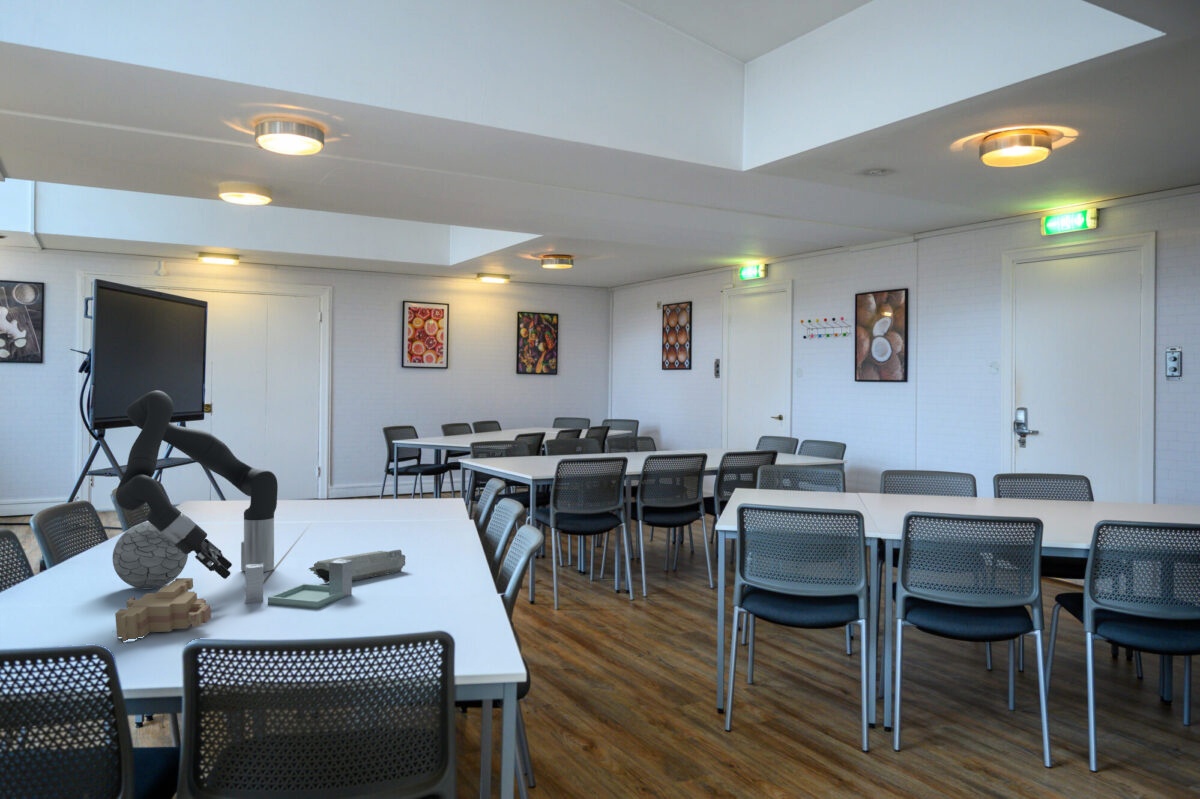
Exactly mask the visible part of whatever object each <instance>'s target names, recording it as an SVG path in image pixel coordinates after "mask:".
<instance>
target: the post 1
mask: <svg viewBox="0 0 1200 799" xmlns="http://www.w3.org/2000/svg"><path fill="white" fill-rule="evenodd" d="M244 573H245V574H244V575H245V577H244V578H245V586H244V588H245V589H244V590H245V599H244V600H245V604H257V603H259V604H260V603H264V572H263V564H250V565H246V568H245V572H244Z"/></svg>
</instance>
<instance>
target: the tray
mask: <svg viewBox="0 0 1200 799" xmlns="http://www.w3.org/2000/svg"><path fill="white" fill-rule="evenodd" d="M341 599H343V591H339V592H336V593H334V594H332V595H329V585H324V584H313V583H301V584H299V585H296V586H294V587H291V588H289V589H286V590H283V591H281V592H278V593H276V594H273V595H270V596H268V597H267V605H273V606H283V607H293V608H302V609H315V610H319V609H320V608H323V607H325V605H326V606H328V605H331V604H332V603H334V602H337V601H340V600H341Z"/></svg>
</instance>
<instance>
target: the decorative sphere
mask: <svg viewBox="0 0 1200 799" xmlns="http://www.w3.org/2000/svg"><path fill="white" fill-rule="evenodd" d="M188 557H189V554H184V553H183V552H182V551H181V550H180V549H179V548H177V547H176V546H175V545H174V544H173V543H172V542H170V541H169V540H168V539H167V538H166V537H165V536H164V535H163V534H162V533H161V532H160V531H159V530H158V529H157V528H156V527H154V526H153V525H152V524H151V523H150V522H149V521H145V522H141V523H138V524H136V525H133V526H131V527H130V528H128V529H127V530H126V531H124V533H123V534H122V535H121V536H120V537H119V538H118V540H117V541H116V543H115V546H114V548H113V551H112V565H113V569H114V571H115V573H116V575H117V576H118V577H119V578H120V580H122V581H123V582H124V583H126V584H127V585H128V586H130V587H134V588H136V589H141V588H153V589H157V588H156V587H158V588H162V587H163V586H167V585H169V584H170V583H172V582H173V581H175V579H176V578H178V576H179V575H181V573H182V572H183V571H184V568H185V567H186V564H187V563H188Z"/></svg>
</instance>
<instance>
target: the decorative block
mask: <svg viewBox="0 0 1200 799" xmlns="http://www.w3.org/2000/svg"><path fill="white" fill-rule="evenodd" d="M406 557H407V556H406V555H405V554H403V553H402V550H401V549H395V550H390V551H386V550H385V551H384V550H377V551H371V552H365V553H364V552H363V553H360V554H353V555H347V556H340V557H334V558H330V559H323V560H318V561H317V562H315V563H314V564H313V566H311V567H308V570H309V571H310V572H313V574H314V575H315V576H317V578H319V579H322V580H323V582H324V583H325V584H327V583H329V562H332V561H335V560H338V559H343V560H352V582H354V581H353V580H355V581H359V580H358V579H360V580H364V579H363V578H365V579H369V578H368V577H370V578H373V577H372V576H374V577H377V575H379V576H383V575H382V574H384V575H388V574H387V573H389V574H393V573H392V572H394V573H398V572H401V571H402V570H403V567H404V566H405V567H406ZM397 571H398V572H397Z"/></svg>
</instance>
